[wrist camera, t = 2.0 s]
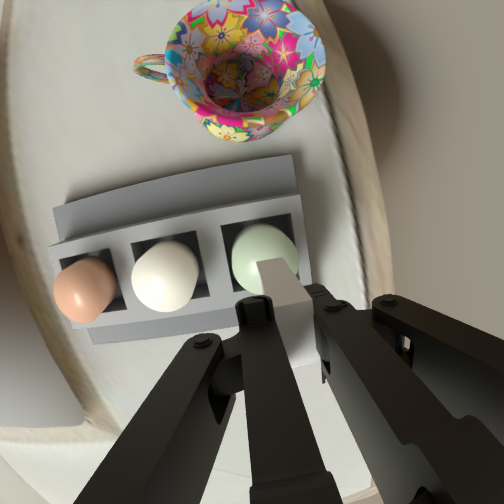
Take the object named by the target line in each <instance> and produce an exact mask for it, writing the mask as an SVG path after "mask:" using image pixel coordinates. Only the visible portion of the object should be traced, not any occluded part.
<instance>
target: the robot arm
mask: <svg viewBox="0 0 504 504" xmlns="http://www.w3.org/2000/svg"><path fill="white" fill-rule="evenodd" d="M256 265H257V271H258V277H259V283H260V289H261V294H262V295H256V296H250V297H246V298H243V299H241V300H239V301H238V302H237V303H236V304H235V309H236V314H237V319H238V323H239V332H238V333H237V334H236V335H235V336H233V337H231V338H229V339H226V340H223V341H222V340H221V338H220V336H219V335H217V334H214V333H205V334H204V333H201V334H199V335H195V336H194V337H192V338H190V339H188V340H187V341H186V342H185V343H184V345H183V346H182V348H181V349H180V350H179V352H178V353H177V355H176V356H175V358H174V359H173V360H172V362H171V363H170V365H169V366H168V368H167V369H166V370H165V372H164V373H163V375H162V376H161V378H160V379H159V380H158V382H157V383H156V385H155V386H154V388H153V389H152V390H151V392H150V393H149V395H148V396H147V398H146V399H145V401H144V402H143V403H142V405H141V406H140V408H139V409H138V411H137V412H136V413H135V415H134V416H133V418H132V419H131V421H130V422H129V424H128V425H127V426H126V428H125V429H124V431H123V432H122V434H121V435H120V436H119V438H118V439H117V441H116V442H115V444H114V445H113V447H112V448H111V449H110V451H109V452H108V454H107V455H106V457H105V458H104V460H103V461H102V462H101V464H100V465H99V467H98V468H97V470H96V471H95V473H94V474H93V475H92V477H91V478H90V480H89V481H88V483H87V484H86V486H85V487H84V488H83V490H82V491H81V493H80V494H79V496H78V497H77V499H76V500H75V501H74V503H73V504H200V501H201V498H202V496H203V493H204V490H205V487H206V484H207V482H208V479H209V476H210V473H211V471H212V468H213V465H214V462H215V459H216V456H217V453H218V451H219V448H220V445H221V442H222V439H223V436H224V433H225V430H226V427H227V424H228V421H229V418H230V415H231V412H232V409H233V406H234V403H235V400H236V394H235V393H237V392H240V391H242V390H244V395H245V407H246V418H247V429H248V440H249V451H250V462H251V472H252V486H251V487H250V492H249V493H250V504H343V502H342V499H341V496H340V494H339V491H338V488H337V485H336V482H335V480H334V478H333V475H332V474H331V472H330V471H328V472H327V470H326V469H325V466H324V463H323V460H322V457H321V454H320V451H319V448H318V445H317V442H316V439H315V436H314V433H313V430H312V427H311V424H310V421H309V418H308V415H307V412H306V410H305V407H304V404H303V401H302V398H301V395H300V392H299V389H298V386H297V383H296V380H295V377H294V374H293V371H292V368H294V367H299V366H304V365H308V364H312V363H317V362H318V353H319V355H320V357H321V370H322V383H325V379H327V381H328V383H329V385H330V387H331V390H332V392H333V394H334V396H335V398H336V400H337V402H338V404H339V406H340V409H341V411H342V413H343V415H344V417H345V419H346V421H347V423H348V426H349V428H350V430H351V432H352V434H353V436H354V438H355V441H356V443H357V445H358V447H359V449H360V451H361V454H362V456H363V458H364V460H365V462H366V464H367V467H368V469H369V471H370V473H371V475H372V477H373V480H374V482H375V484H376V486H377V488H378V490H379V493H380V495H381V497H382V499H383V502H384V504H504V340H502V339H500V338H498V337H495V336H493V335H491V334H488V333H486V332H484V331H482V330H479V329H477V328H474V327H472V326H470V325H468V324H465V323H463V322H461V321H458V320H456V319H454V318H451V317H449V316H447V315H444V314H442V313H440V312H437V311H435V310H432V309H430V308H428V307H425V306H423V305H421V304H418V303H416V302H414V301H411V300H409V299H406V298H404V297H402V296H398V295H392V294H387V295H386V294H385V295H382V296H379V297H377V298H375V299H374V300H373V301H372V309H368V310H356V309H355V308H354V307H353V306H352V305H351V304H350V303H349V302H347V301H344V300H336V299H335V298H334V297H333V295H332V294H330V292H329V291H328V290H327V289H326V288H325V286H323V285H320V284H317V283H316V284H311V285H306V286H303V285H302V284H301V283H300V281H299V280H298V278H297V277H296V275H295V274H294V273H293V271H292V270H291V268H290V267H289V266H288V264H287V263H286V261H285V260H284V258H283V257H279V258H273V259H268V260H263V261H257V262H256ZM405 336H406V337H408V338H409V339H410V348H409V349H407V348H405V347H404V339H405ZM317 351H318V352H317Z"/></svg>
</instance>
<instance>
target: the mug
mask: <svg viewBox="0 0 504 504" xmlns="http://www.w3.org/2000/svg"><path fill="white" fill-rule="evenodd" d="M326 64H327V61H326V51H325V47H324V43H323V41H322V38H321V36H320V34H319V32H318V31H317V29H316V28H315V26H314V25H313V24H312V22H311V21H310V20H309V19H308V18H307V17H306V16H305V15H304V14H303V13H301V12H300V11H299V10H298V9H296V8H295V7H293V6H291V5H290V4H288V3H286V2H284V1H282V0H208V1H206V2H204V3H202V4H200V5H198V6H197V7H195V8H194V9H192V10H191V11H190V12H188V13H187V14H186V15H185V16H184V17H183V18H182V19H181V20H180V21H179V23H178V24H177V25H176V27H175V28H174V30H173V31H172V33H171V35H170V38H169V40H168V43H167V47H166V51H165V55H163V54H152V55H146V56H142V57H140V58H138V59H136V60H135V62H134V65H133V70H134V72H135V73H136V74H138V75H140V76H142V77H145V78H147V79H151V80H154V81H158V82H162V83H167V84H170V85H171V86H172V88H173V90H174V92H175V93H176V95H177V96H178V97H179V98H180V100H181V101H182V102H183V103H184V104H185V105H186V106H187V107H189V108H190V109H191V110H193V111H194V114H195V116H196V118H197V119H198V121H199V122H200V124H201V125H202V126H203V127H204V128H205V129H206V130H207V131H209V132H210V133H211V134H213V135H215V136H217V137H219V138H221V139H224V140H227V141H232V142H249V141H254V140H257V139H260V138H262V137H265V136H266V135H268V134H270V133H271V132H273V131H274V130H275V129H276V128H277V127H278V126H279V125H280V124H281V122H282V121H283V120H285V119H287V118H289V117H291V116H293V115H295V114H296V113H298V112H299V111H300V110H302V109H303V108H304V107H305V106H307V105H308V104H309V102H310V101H311V100H312V99H313V98H314V97H315V95H316V94H317V92H318V91H319V89H320V87H321V85H322V83H323V80H324V77H325V72H326ZM146 65H165V69H166V73H167V74H164V73H160V72H157V71H153V70H150V69H148V68H145V67H143V66H146Z"/></svg>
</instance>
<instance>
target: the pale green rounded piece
mask: <svg viewBox="0 0 504 504" xmlns="http://www.w3.org/2000/svg"><path fill="white" fill-rule="evenodd" d="M279 257H283V258H284V260H285V261H286V263H287V264H288V266H289V267H290V268H291V270H292V271H293V273H294V274H295V275H296V274H297V271H298V267H299V256H298V252H297V249H296V247H295V245H294V244H293V242H292V241H291V240H290V239H289V238H288V237H287V236H286V235H285V234H284V233H283V232H282V231H281V230H280V229H278V228H277V227H275V226H274V225H271V224H268V223H254V224H251V225H248V226H247V227H245V228H243V229H242V230H241V231H240V232H239V233H238V234H237V236H236V237H235V239H234V242H233V245H232V269H233V273H234V276H235V278H236V280H237V281H238V283H239V284H240V285H241V286H242V287H243V288H245V289H246V290H248V291H249V292H252V293H254V294H258V295H262V294H261V289H260V283H259V277H258V271H257V265H256V262H257V261H263V260H268V259H273V258H279Z"/></svg>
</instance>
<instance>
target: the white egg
mask: <svg viewBox="0 0 504 504" xmlns="http://www.w3.org/2000/svg"><path fill="white" fill-rule="evenodd" d="M198 275H199V262H198V258H197V256H196V254H195V253H194V251H193V250H192V249H191V248H190V247H189V246H188V245H186V244H185V243H183V242H180V241H177V240H164V241H161V242H158V243H157V244H155V245H154V246H153V247H152V248H150V249H149V250H148V251H147V252H146V253H145V254H144V255H142V256H141V257H140V258H139V259H138V260H137V262H136V263H135V265H134V267H133V270H132V276H131V280H132V287H133V290H134V292H135V294H136V296H137V297H138V299H139V300H140V301H141V302H142V303H143V304H144V305H146V306H147V307H149V308H150V309H153V310H155V311H159V312H172V311H175V310H178V309H180V308H182V307H183V306H184V305H186V304H187V303H188V301H189V300H190V298H191V297H192V294H193V291H194V288H195V285H196V282H197V279H198Z"/></svg>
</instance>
